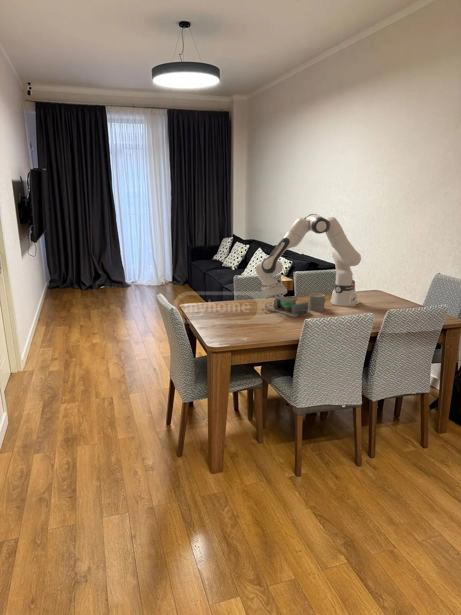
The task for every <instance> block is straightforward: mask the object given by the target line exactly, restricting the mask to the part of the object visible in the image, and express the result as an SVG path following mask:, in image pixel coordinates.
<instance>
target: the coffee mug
mask: <svg viewBox="0 0 461 615" xmlns="http://www.w3.org/2000/svg"><path fill="white" fill-rule="evenodd" d="M308 302H309V305H308V310H310V312H318V313H319V312H324V311H325V303H326V295H325V294H323V293H317V292H316V293H315V292H313V293H310V294H309V301H308Z"/></svg>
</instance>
